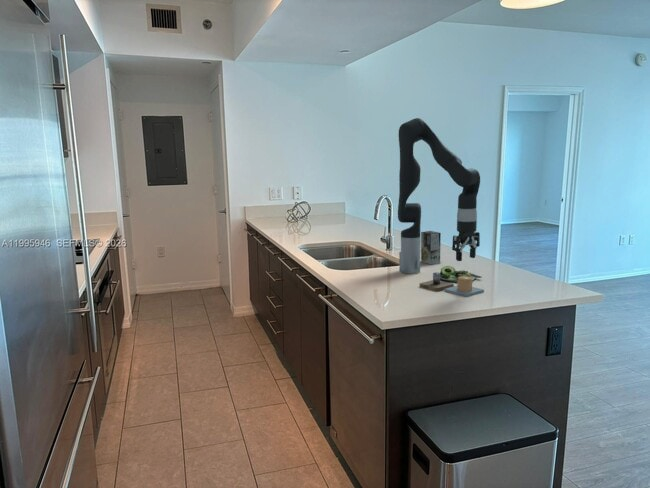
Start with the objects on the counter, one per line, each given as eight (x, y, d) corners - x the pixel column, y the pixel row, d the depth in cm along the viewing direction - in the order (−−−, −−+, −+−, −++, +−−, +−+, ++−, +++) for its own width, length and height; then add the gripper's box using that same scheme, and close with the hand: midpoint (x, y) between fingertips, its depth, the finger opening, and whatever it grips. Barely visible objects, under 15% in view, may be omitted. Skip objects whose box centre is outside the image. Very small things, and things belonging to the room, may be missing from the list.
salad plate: (485, 276, 218) (485, 267, 217) (476, 286, 203) (477, 275, 202) (443, 273, 227) (443, 263, 227) (432, 281, 212) (432, 271, 211)
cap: (465, 292, 189) (465, 280, 188) (454, 289, 194) (454, 277, 193) (474, 289, 192) (475, 278, 191) (464, 286, 197) (464, 275, 196)
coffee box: (440, 263, 246) (441, 232, 244) (430, 264, 244) (430, 233, 241) (430, 260, 255) (431, 230, 252) (420, 261, 252) (420, 231, 250)
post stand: (419, 286, 203) (419, 273, 202) (435, 282, 208) (435, 269, 207) (437, 291, 195) (437, 277, 193) (453, 287, 200) (453, 273, 199)
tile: (444, 291, 195) (444, 288, 195) (461, 286, 201) (461, 284, 201) (466, 297, 186) (466, 294, 186) (483, 292, 192) (484, 289, 192)
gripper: (463, 222, 181) (462, 263, 184) (485, 218, 190) (484, 258, 193) (447, 220, 187) (446, 260, 190) (470, 216, 195) (469, 255, 198)
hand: (465, 259), depth 191 cm, fingers open, 8 cm apart
